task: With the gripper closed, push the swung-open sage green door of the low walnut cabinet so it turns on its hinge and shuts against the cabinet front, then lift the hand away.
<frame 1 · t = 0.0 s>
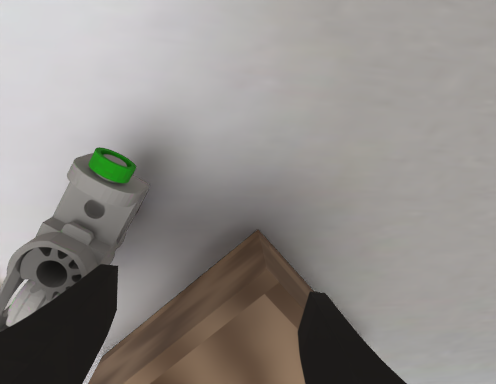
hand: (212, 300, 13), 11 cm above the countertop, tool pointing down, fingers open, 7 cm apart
cabinet: (232, 349, 25), on the countertop
mechanical component: (127, 205, 23), on the countertop
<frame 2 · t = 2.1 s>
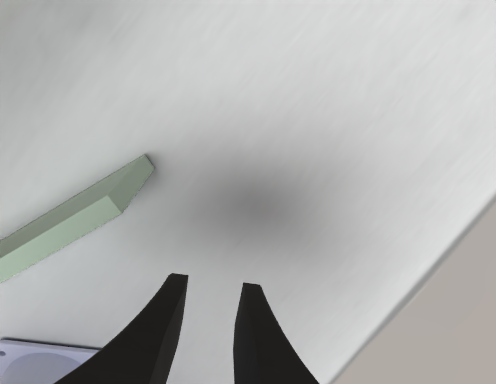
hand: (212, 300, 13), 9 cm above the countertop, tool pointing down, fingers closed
door: (20, 246, 19), point 3 cm above the countertop, hinge at -50.0°
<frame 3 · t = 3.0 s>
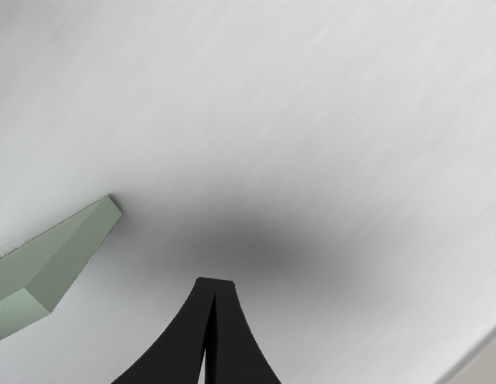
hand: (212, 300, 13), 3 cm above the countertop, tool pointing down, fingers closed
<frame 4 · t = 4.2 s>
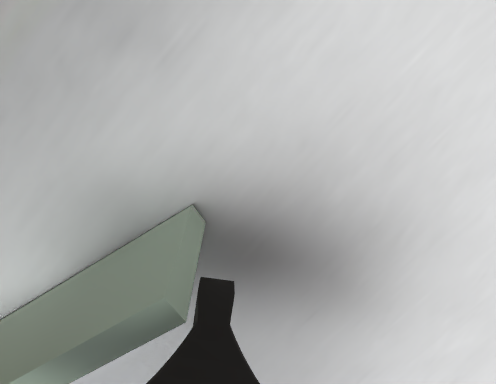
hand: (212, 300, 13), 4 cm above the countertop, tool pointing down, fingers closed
door: (30, 341, 14), point 3 cm above the countertop, hinge at -48.3°, touching gripper
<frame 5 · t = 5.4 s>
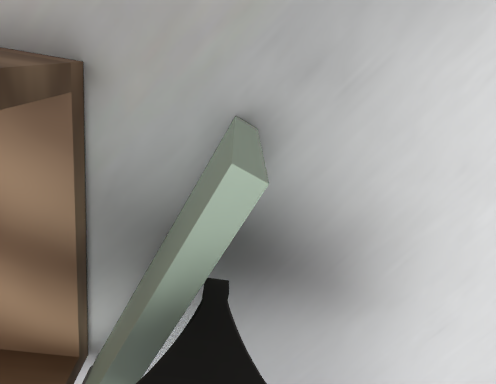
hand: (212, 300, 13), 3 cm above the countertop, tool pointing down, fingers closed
door: (144, 312, 13), point 3 cm above the countertop, hinge at -21.1°, touching gripper
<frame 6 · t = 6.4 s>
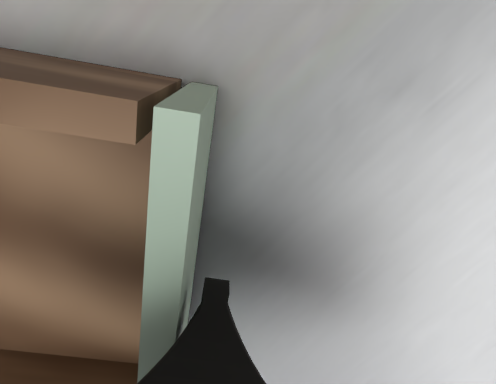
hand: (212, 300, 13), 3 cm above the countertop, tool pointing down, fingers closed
cabinet: (32, 228, 15), on the countertop
door: (173, 302, 13), point 3 cm above the countertop, hinge at 0.3°, touching gripper
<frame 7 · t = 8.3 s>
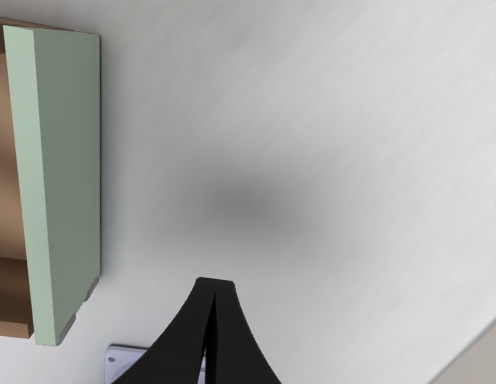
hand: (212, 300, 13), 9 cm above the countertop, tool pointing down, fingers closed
door: (67, 196, 18), point 3 cm above the countertop, hinge at 0.4°
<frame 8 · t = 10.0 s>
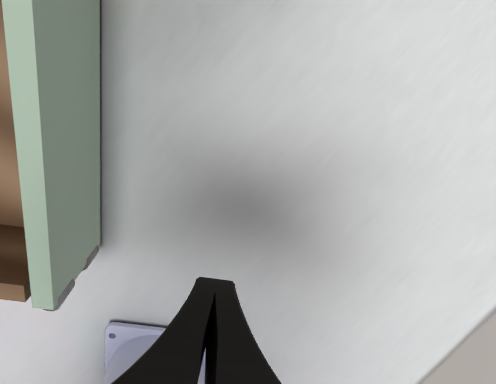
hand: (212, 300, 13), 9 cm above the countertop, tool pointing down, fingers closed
door: (66, 151, 17), point 3 cm above the countertop, hinge at 0.4°
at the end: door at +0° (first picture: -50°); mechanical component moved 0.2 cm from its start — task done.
